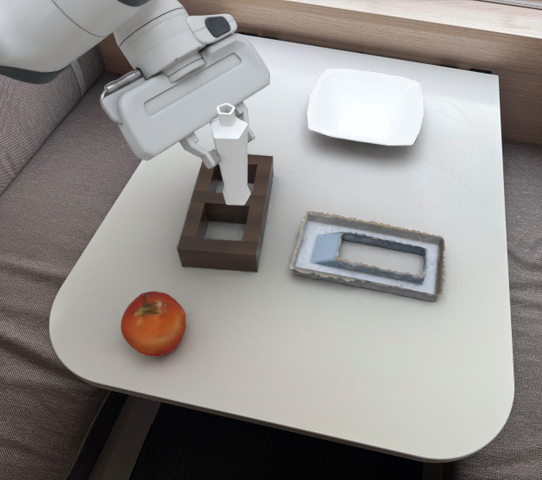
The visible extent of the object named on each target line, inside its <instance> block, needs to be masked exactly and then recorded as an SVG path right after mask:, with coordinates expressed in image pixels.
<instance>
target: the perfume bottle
mask: <svg viewBox="0 0 542 480" xmlns="http://www.w3.org/2000/svg"><path fill="white" fill-rule="evenodd" d="M234 110H235V107H234V106H233V105H231V104H229V103H224V104H222V105H219V106H217V111H218V113H219V117H218V118H216V119H214V120H212V121H211V122H209V127H210V133H211V135H212V140H213V144H214V149H215V150H216V152H217V154H218V156H220V158H221V160H222V161H221V162H220V163H219V165H220V170H221V174H222V178H223V181H222V182H223V190H222V193H223V195H224V199H225V202H226V204H227V205H245V203H246V202H247V200H248V198H249V196H250V195H252V191H251V190H250V188H249V186H248V183H247V162H248V154H249V153H248V151H249V150H248V149H249V147H248V144H249V143H248V124H247V123H246V122H244V121H242V120H240V119H238V118H237V117H235V112H234Z"/></svg>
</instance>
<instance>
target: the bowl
mask: <svg viewBox="0 0 542 480" xmlns="http://www.w3.org/2000/svg"><path fill="white" fill-rule="evenodd" d="M424 100H425V99H424V93H423V90H422V86H421V83H420V81H417V80H413V79H410V78H407V77H404V76H401V75H395V74H394V75H393V74H388V73H382V72H375V71H368V70H361V69H353V68H325V69H324V70H323V72H322V73H321V74H320V75H319V76H318V78H317V79H316V81H315V84H314V86H313V88H312V90H311V92H310V94H309V99H308V104H307V111H306V119H307V128H308V130H309V131H310V132H314V133H316V134H320V135H323V136H326V137H328V138H335V139H340V140H347V141H353V142H359V143H365V144H372V145H379V146H386V147H409V146H410V147H411V146H413V145H414V144H415V141H416V139H417V137H418V136H419V134H420V132H421V129H422V125H423V119H424V117H425V103H424Z"/></svg>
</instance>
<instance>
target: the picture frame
mask: <svg viewBox="0 0 542 480" xmlns="http://www.w3.org/2000/svg"><path fill="white" fill-rule="evenodd" d="M301 225H302V226H300V228H299V236H298V238H297V240H296V245H295V248H294V249H293V252H292V255H293V256H292V258H291V263H290V265H289V270H292V274H294V275H297V276H303V277H306V278H311V279H318V280H323V281H327V282H334V283H338V284H343V285H349V286H354V287H359V288H365V289H370V290H374V291H375V290H376V291H379V292H380V291H381V292H384V293H388V294H389V293H390V294H394V295H398V296H404V297H407V298H408V297H409V298H413V299H418V300H423V301H429V302H436V300H437V297H439V296H441V295H443V291H444V290H443V287H444V283H445V282H446V279H445V278H444V277H446V272H445V268H446V266H445V258H446V257H445V251H446V245H445V243H446V241H445V238H444V236H441V235H436V234H430V233H427V232H424V231H423V232H422V231H420V230H416V229H409V228H405V227H401V226H394V225H390V224H385V223H382V222H377V221H374V220H369V221H368V220H367V221H366V220H362V219H357V218H356V217H346V216H344V215H340V214H336V213H331V214H330V213H328V212H326V213H325V212H322V211H315V210H306V211H305V214H304V215H303V220H302V221H301ZM342 240H343V241H344V240H345V241H349V242H350V241H351V242H356V243H361V244H366V245H370V246H375V247H381V248H386V249H391V250H395V251H396V250H397V251H402V252H406V253H411V254H417V255H422V256H423V257H424V259H423V271H422V274H419V273H415V274H413V273H410V272H409V271H407V272H402V271H400V272H399V271H398V270H392V269H390V268H388V269H383V268H381V267H379V266H376V265H369V264H368V263H363V262H362V261H359V262H358V261H357V262H356V261H355V262H352V261H351V260H348V259H347V258H342V257H339V255H340V253H339V250H340V249H339V248H340V247H341V245H342V244H341V243H342Z"/></svg>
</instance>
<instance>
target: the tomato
mask: <svg viewBox="0 0 542 480" xmlns="http://www.w3.org/2000/svg"><path fill="white" fill-rule="evenodd" d="M186 329H187V315H186V311H185V309H184V308H183V306H182V305H181V304H180V303H179V302H178V301H177V299H176V298H175V297H173V296H171V295H170V294H168V293H166V292H161V291H157V290H150V291H145V292H142V293H140V294H139V295H138V296H136V297H135V298H134V299H133V300H132V301H131V302H130V303H129V304H128V306H127V307H126V309H125V310H124V312H123V315H122V317H121V320H120V330H121V334H122V337H123V338H124V340H125V341H126V342H127V344H128V345H129V346H130V347H131V348H133V350H135V351H137V352H138V353H139V354H141V355H143V356H147V357H155V358H158V357H163V356H165V355H168V354H170V353H172V352H173V351H174V350H176V348H177V347H178V346H179V345H180V344H181V342H182V340H183V337H184V334H185V331H186Z"/></svg>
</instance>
